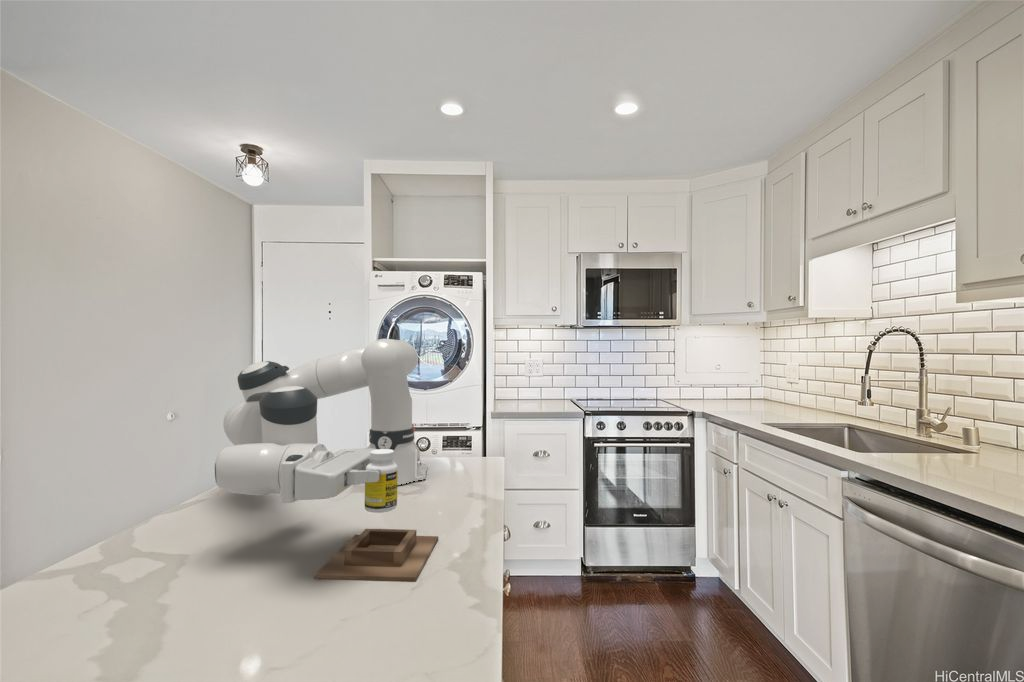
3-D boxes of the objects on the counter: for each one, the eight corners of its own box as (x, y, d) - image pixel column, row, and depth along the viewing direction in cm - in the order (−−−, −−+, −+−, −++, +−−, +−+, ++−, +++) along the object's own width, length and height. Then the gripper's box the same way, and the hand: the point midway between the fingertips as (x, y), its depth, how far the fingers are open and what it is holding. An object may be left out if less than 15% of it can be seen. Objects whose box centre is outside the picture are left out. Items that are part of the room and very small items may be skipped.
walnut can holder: (355, 537, 88) (355, 521, 88) (438, 539, 87) (438, 523, 87) (314, 578, 72) (314, 559, 72) (415, 581, 71) (415, 561, 71)
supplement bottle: (388, 514, 76) (388, 455, 77) (358, 512, 77) (359, 453, 78) (402, 504, 82) (403, 448, 82) (374, 502, 83) (375, 447, 83)
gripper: (335, 472, 91) (404, 473, 90) (275, 506, 70) (364, 508, 70) (335, 440, 91) (404, 440, 90) (276, 465, 71) (364, 466, 70)
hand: (386, 470), depth 80 cm, fingers closed on supplement bottle, 5 cm apart
